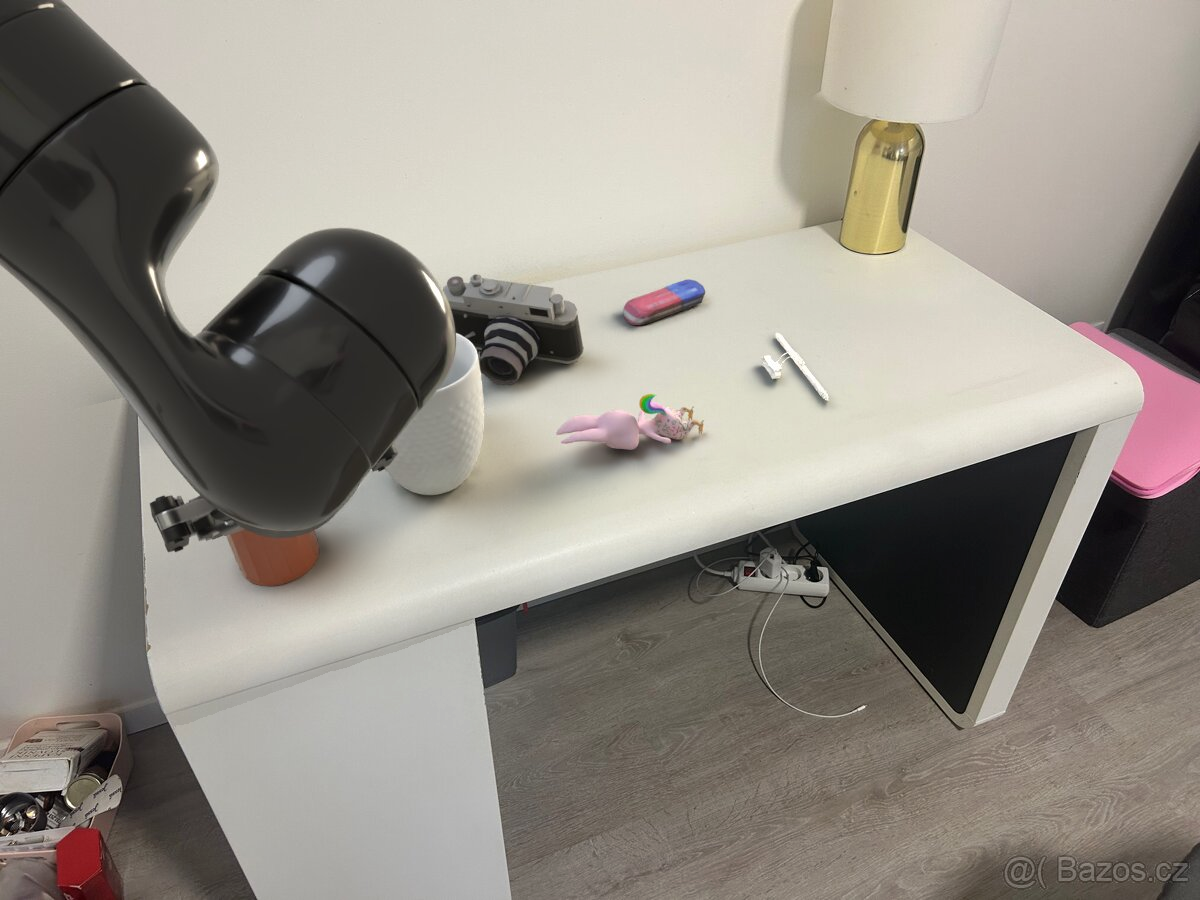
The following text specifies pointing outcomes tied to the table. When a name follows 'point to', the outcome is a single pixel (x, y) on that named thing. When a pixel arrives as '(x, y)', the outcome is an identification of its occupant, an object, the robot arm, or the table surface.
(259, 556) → the cup
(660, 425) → the rabbit figure
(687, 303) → the eraser
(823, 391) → the picture light
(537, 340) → the camera
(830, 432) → the table surface
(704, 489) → the table surface
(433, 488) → the mug
